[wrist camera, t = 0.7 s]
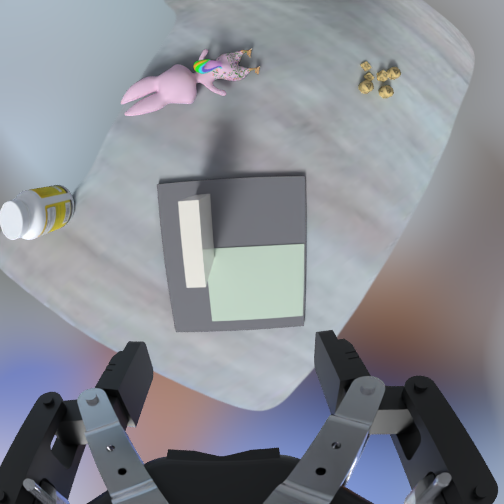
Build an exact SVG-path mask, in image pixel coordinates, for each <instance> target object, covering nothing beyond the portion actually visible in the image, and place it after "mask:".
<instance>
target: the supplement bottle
mask: <svg viewBox="0 0 504 504" xmlns="http://www.w3.org/2000/svg"><path fill="white" fill-rule="evenodd" d="M73 213H74V200H73V197H72V195H71V193H70V191H69V190H68V189H67V188H65V187H64V186H61V185H54V186H49V187H43V188H37V189H30V190H26V191H23V192H21V193H19V194H18V195H17V196H16V198H15V199H13V200H10V201H7V202H5V203H4V205H3V206H2V208H1V211H0V225H1V229H2V231H3V233H4V234H5V236H6V237H7V238H9V239H11V240H15V239H18V238H21V237H22V238H23V239H27V240H31V239H35V238H37V237H39V236H42V235H44V234H47V233H49V232H51V231H54V230H56V229H59V228H61V227H63V226H65V225H67V224H68V223H69V222H70V220H71V219H72V216H73Z"/></svg>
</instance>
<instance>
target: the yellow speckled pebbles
mask: <svg viewBox="0 0 504 504" xmlns="http://www.w3.org/2000/svg"><path fill="white" fill-rule="evenodd" d="M361 67H362V68H363V69H364V71H367V70H369V69H370V68H371V66H370V65H369V64H368V62H365V63H363V64H361ZM400 75H401V72H400V70H399V69H398V68H397V67H392V68H390V69H388V70H387V72H385V71H384V70H382V71H380V72H379V73H377V80H378V81H383V82H385V81H386V80H387V79H388V77H389V78H390V79H396V78H398V77H400ZM364 78H365V79H366V80H364V81H363V82H361V83H360V84H359V85H358V86H359V90H360V91H361V92H362V93H365V94H367V93H369V92H370V91H372V90H373V89H374V86H373V83H372V82H371V81H372V80H373V79H374V77H373V76H372V75H371V74H370V72H368V73H367V74H366V75H365V76H364ZM393 94H394V92H393V88H392V87H390V86H389V85H385V86H383V87H381V88H380V89H379V95H380V96H381V97H382V98H388V97H391V96H392V95H393Z"/></svg>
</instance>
